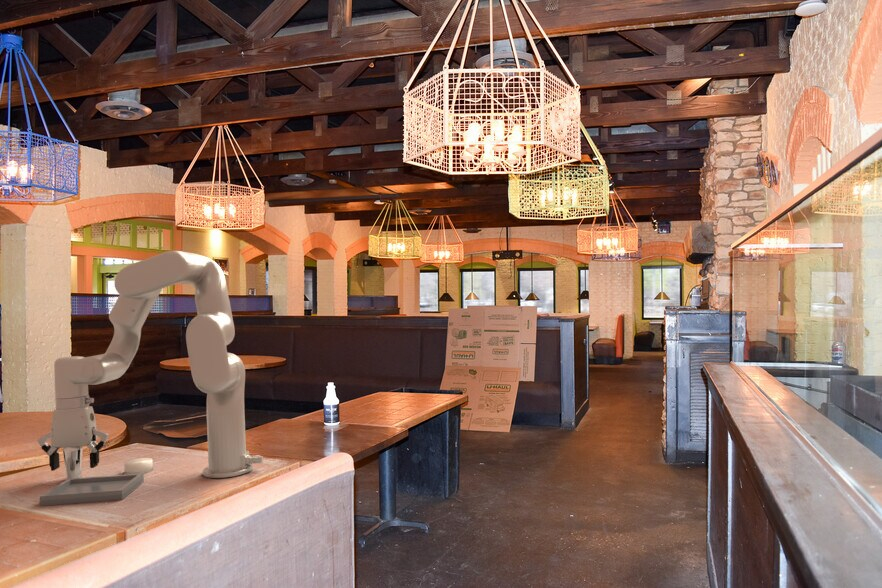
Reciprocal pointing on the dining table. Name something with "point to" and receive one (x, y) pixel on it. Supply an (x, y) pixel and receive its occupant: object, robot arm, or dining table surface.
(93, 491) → the grey tray
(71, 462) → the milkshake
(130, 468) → the cream domed disc
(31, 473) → the dining table surface
